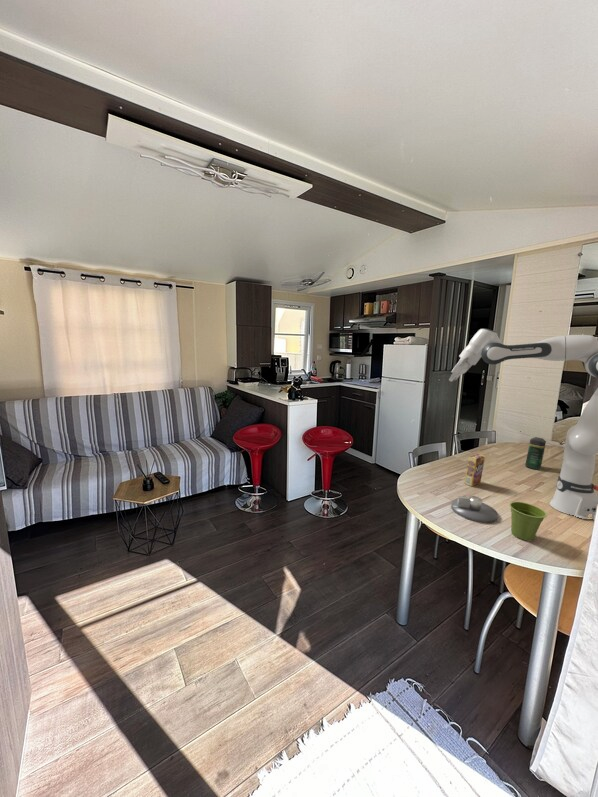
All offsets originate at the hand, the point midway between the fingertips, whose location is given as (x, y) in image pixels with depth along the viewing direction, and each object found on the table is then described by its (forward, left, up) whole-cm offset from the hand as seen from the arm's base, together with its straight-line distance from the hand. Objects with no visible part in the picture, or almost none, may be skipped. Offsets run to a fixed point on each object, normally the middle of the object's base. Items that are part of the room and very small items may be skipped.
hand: (452, 380), depth 173 cm
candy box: (-15, +6, -53) cm, 56 cm away
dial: (-2, +38, -51) cm, 64 cm away
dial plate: (-4, +38, -53) cm, 66 cm away
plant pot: (-17, +54, -53) cm, 78 cm away
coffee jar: (-63, -30, -53) cm, 88 cm away
